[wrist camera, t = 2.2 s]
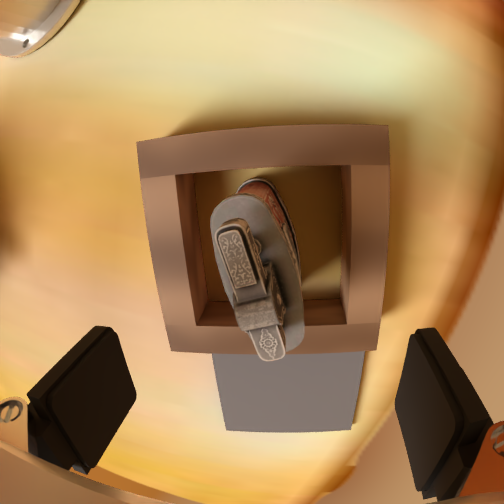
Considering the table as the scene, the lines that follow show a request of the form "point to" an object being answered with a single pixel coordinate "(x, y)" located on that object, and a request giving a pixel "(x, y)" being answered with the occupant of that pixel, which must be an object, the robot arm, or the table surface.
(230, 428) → the charcoal mat
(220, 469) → the table surface
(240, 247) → the lighter
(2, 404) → the robot arm
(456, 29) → the table surface
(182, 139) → the frame
